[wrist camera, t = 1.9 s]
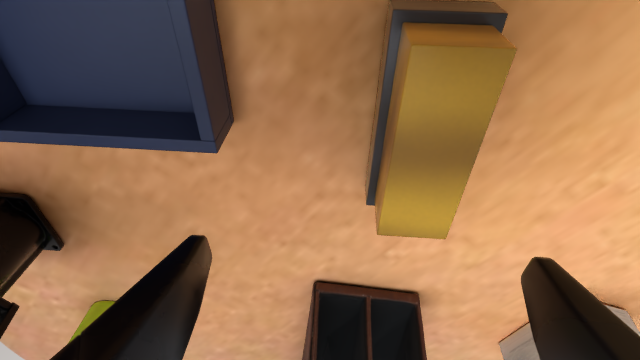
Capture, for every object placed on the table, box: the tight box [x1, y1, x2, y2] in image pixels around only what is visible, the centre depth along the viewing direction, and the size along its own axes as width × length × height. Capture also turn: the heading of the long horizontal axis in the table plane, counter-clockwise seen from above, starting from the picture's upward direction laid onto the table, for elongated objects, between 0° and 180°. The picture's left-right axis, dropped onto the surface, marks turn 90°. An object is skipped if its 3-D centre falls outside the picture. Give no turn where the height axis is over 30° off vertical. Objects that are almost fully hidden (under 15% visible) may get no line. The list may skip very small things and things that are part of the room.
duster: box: [365, 0, 517, 239], centre depth 19 cm, size 12×5×5 cm, turn 0°
